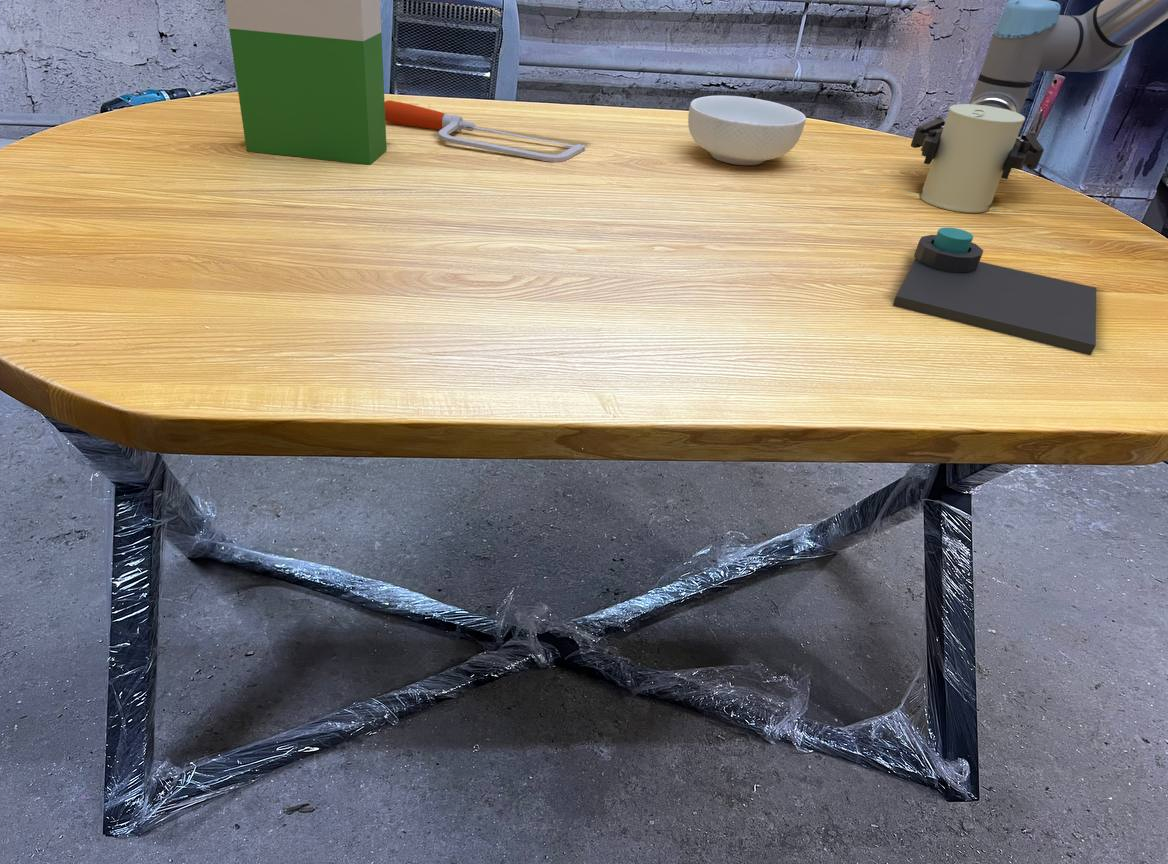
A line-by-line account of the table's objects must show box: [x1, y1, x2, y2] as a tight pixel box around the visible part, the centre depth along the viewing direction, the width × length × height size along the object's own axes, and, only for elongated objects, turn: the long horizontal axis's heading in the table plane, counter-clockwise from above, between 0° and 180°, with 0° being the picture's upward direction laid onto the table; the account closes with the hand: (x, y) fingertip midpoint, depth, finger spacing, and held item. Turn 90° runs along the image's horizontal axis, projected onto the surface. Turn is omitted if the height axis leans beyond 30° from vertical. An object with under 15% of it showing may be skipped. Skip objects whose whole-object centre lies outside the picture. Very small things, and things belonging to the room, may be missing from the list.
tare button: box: [933, 227, 974, 253], centre depth 90 cm, size 4×4×2 cm
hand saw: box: [384, 99, 586, 163], centre depth 123 cm, size 33×3×10 cm
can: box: [919, 103, 1026, 214], centre depth 110 cm, size 9×9×12 cm
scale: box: [892, 234, 1097, 356], centre depth 85 cm, size 18×17×3 cm
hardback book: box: [224, 0, 388, 166], centre depth 108 cm, size 18×7×24 cm, turn 81°
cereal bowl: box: [687, 95, 807, 166], centre depth 122 cm, size 17×17×7 cm
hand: (968, 160), depth 106 cm, fingers closed on can, 9 cm apart
